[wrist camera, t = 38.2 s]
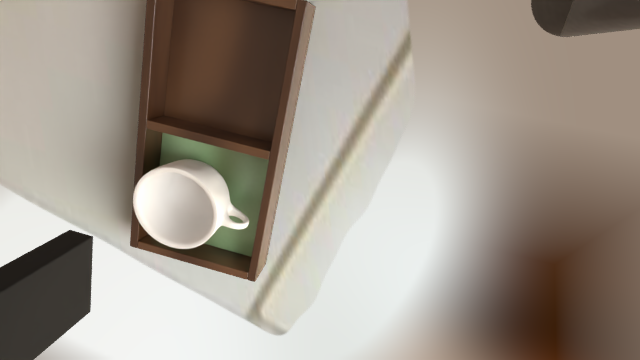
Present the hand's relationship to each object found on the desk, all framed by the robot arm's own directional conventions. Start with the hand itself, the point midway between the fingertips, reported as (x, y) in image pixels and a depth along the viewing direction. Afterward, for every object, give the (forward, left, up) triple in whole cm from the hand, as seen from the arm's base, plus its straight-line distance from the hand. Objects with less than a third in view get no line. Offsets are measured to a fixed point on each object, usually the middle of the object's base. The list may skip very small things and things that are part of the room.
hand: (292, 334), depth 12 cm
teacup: (+13, +8, -26) cm, 30 cm away
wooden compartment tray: (+13, +2, -27) cm, 30 cm away
